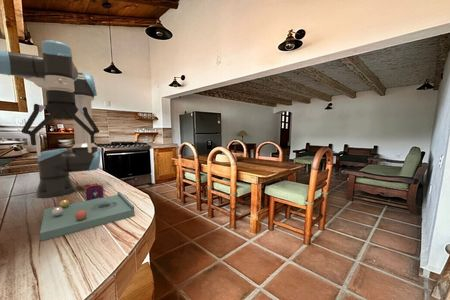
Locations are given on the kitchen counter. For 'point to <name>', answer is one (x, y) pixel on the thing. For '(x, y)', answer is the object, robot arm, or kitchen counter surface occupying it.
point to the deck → (96, 215)
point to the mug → (94, 192)
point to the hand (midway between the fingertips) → (66, 153)
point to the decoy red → (81, 214)
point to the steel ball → (57, 211)
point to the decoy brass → (64, 203)
